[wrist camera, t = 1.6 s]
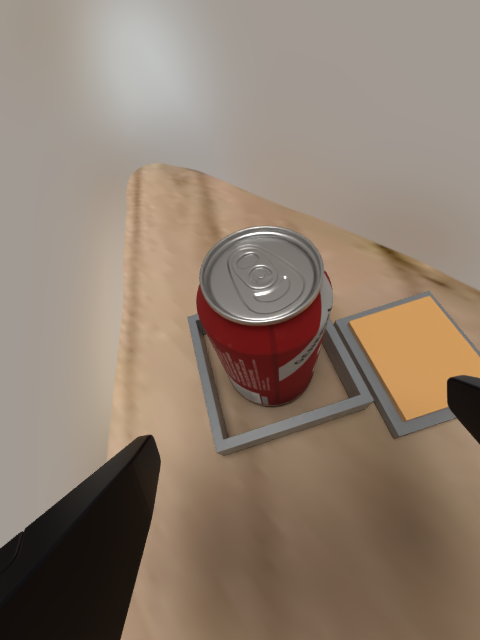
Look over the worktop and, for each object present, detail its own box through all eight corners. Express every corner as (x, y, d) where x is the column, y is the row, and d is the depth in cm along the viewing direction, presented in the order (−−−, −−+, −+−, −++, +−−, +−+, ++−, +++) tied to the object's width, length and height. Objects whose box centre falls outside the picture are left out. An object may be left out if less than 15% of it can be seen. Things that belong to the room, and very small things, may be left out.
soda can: (258, 426, 20) (234, 370, 10) (214, 356, 24) (162, 259, 13) (331, 376, 21) (376, 279, 11) (279, 315, 25) (277, 198, 14)
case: (364, 409, 20) (374, 400, 18) (223, 455, 20) (216, 452, 17) (306, 296, 25) (308, 279, 23) (195, 331, 25) (187, 316, 23)
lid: (506, 401, 19) (523, 394, 18) (394, 438, 19) (402, 435, 17) (423, 297, 24) (432, 286, 22) (333, 326, 23) (336, 316, 22)
